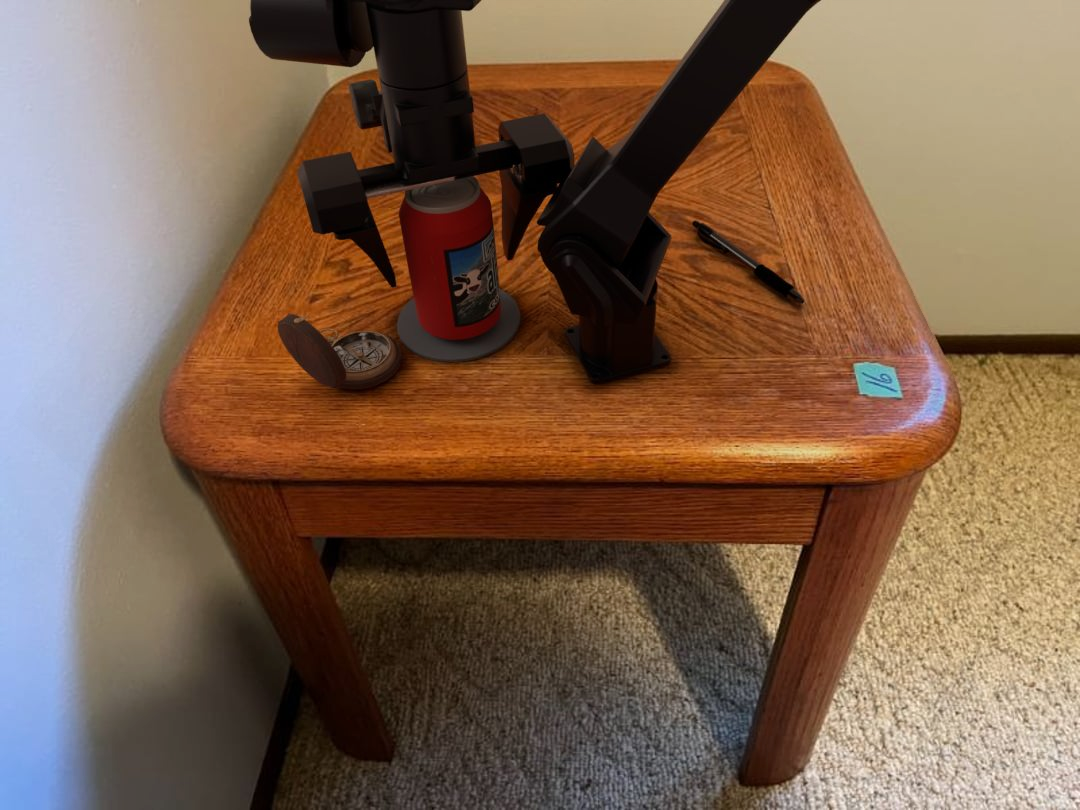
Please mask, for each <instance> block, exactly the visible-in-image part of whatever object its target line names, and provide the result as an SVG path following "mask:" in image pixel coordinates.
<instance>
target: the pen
mask: <svg viewBox="0 0 1080 810" xmlns="http://www.w3.org/2000/svg"><path fill="white" fill-rule="evenodd" d="M691 225H692V226H693V227H694V228H695V230H696V231H695V234H696V236H697V238H698V240H700V241H701V242H703V243H704V244H706V245H707V246H709V247H711V248H714V249H717V250H719V251H722V254H725V255H726V254H727V255H729V256H730V257H731V258H733V259H734V260H736V261H737V262H738V263H740V265H742V266H743V267H745V268H746V269H748V271H750V272H752V273H753V275H754V276H755V277H757V278H758V279H759V280H760V281H761V282H763V283H764V284H765V285H767V286H769V287H770V288H772V289H773V290H775V291H776V292H777V293H779V294H780V295H781V296H783V298H788V299H789V300H791V301H793V302H795V303H797V304H801V305H802V304H804V303H805V299H804V297H803V295H801V293H799V292H798V291H797V290H796V288H795V287H794V285H792V284H791V283H790V282H788V281H786V280H785V279H784V278H782V277H781V276H779V274H778V273H776V272H775V271H774V270H772V269H770V268H769V267H767V266H765V264H762V263H760V262H758V261H757V260H756V259H754V258H753V257H751V256H750V255H748V254H747V253H746V252H744V251H743V250H742V249H740V248H739V247H738V246H736V245H735V244H734V243H732V242H730V241H729V240H728V239H726V237H724V236H722V235H721V234H719V233H718V232H717V231H716V230H715V229H713V227H711V226H709V225H708V224H706V223H704V222H699V220H697V219H696V220H693V221H692V222H691Z"/></svg>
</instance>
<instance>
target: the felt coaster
mask: <svg viewBox="0 0 1080 810" xmlns="http://www.w3.org/2000/svg"><path fill="white" fill-rule="evenodd" d="M499 289H500V302H501V314H500V317H499V319H498V321H497V322H496V324H495V325H494V326H493V327H492V328H490V329H489V330H488V331H486V332H484V333H483V334H480V335H478V336H475V337H472V338H468V339H462V340H448V339H442V338H438V337H435V336H433V335H431V334H429V333H428V332H426V331H425V330H424V329H423V328H422V327H421V325H420V323H419V320H418V316H417V311H416V306H415V301H414V297H412V298H411V299H410V300H409V301H408V302H407V303H406V304H405V305H404V306H403V308H402V309H401V311H400V312H399V315H398V317H397V323H396V330H397V334H398V338H399V340H400V342H401V343H402V344H403V346H404V347H405V348H406V349H408V351H410V352H411V353H413V354H415V355H417V356H419V357H422V358H423V359H425V360H430V361H434V362H441V363H461V362H463V363H464V362H470V361H474V360H479V359H481V358H484V357H486V356H489V355H492V354H494V353H496V352H497V351H499V350H501V349H502V348H503V347H506V345H507V344H508V343H510V341H511V340H512V339H513V338H514V337H515V335H516V334H517V332H518V330H519V328H520V324H521V311H520V308H519V305H518V303H517V302H516V301H515V299H514V298H513V297H512V296H511V295H510V294H509V293H508V292H506V291H504V290H503V289H501V288H499Z"/></svg>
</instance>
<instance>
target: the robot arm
mask: <svg viewBox="0 0 1080 810" xmlns="http://www.w3.org/2000/svg"><path fill="white" fill-rule="evenodd" d="M481 1H482V0H250V4H249V8H250V16H249V17H248V24H249V27H250V31H251V35H252V37H253V40H254V42H255V44H256V46H257V47H258V49H259V50H260V52H261V53H262V54H264V56H265V57H267V58H269V59H271V60H276V61H285V62H286V61H287V62H296V63H305V64H306V63H307V64H316V65H325V66H333V67H343V68H353V67H356V66H358V65H359V64H360V63H361V62H362V60H363V59H364V58H365V56H366V53H367V52H370V51H372V50H373V51H374V52H373V53H374V58H375V62H376V68H377V73H378V79H379V84H380V85H379V86H380V90H379V87H378V85H377V82H376V80H374V79H371V78H370V79H365V80H359V81H355V82H349V83H347V85H348V90H349V95H350V100H351V104H352V110H353V113H354V114H353V115H354V119H355V123H356V125H357V126H356V127H358V128H359V129H360V130H363V131H364V130H368V129H373V128H374V129H375V128H378V127H381V130H382V135H383V140H384V145H385V148H386V150H387V152H388V154H391V153H392V157H393V162H390V163H386V164H381V165H376V166H372V167H366V168H361V169H358V166H357V165H356V162H355V160H354V159H355V158H354V157H353V154H352V152H351V151H346V152H342V153H336V154H331V155H325V156H321V157H315V158H311V159H306V160H302V161H301V163H300V165H299V166H298V169H297V170H296V175H297V177H298V178H297V179H298V181H299V184H300V189H301V192H302V195H303V200H304V204H305V207H306V210H307V214H308V218H309V222H310V225H311V229H312V232H313V233H315V234H318V235H327V234H332V233H333V237H334V238H335V239H336V240H338V241H347V240H351V241H352V242H353V243H354V244H355V245H356V246H357V247H358V248H359V249H361V251H362V252H364V253H365V254H366V256H367V257H368V258H369V259H370V260H371V261H372V263H373V264H374V266H375V267H376V268H377V269H378V271H379V272H380V274H381V275H382V276H383V278H384V280H385V281H386V282H387V284H388V285H389V286H390V288H392V289H394V288H396V287H397V279H396V274H395V271H394V268H393V266H392V263H391V260H390V258H389V255H388V252H387V250H386V247H385V244H384V241H383V239H382V236H381V234H380V231H379V228H378V225H377V223H376V220H375V218H374V214H373V212H372V210H371V206H370V203H369V201H368V200H369V199H373V198H378V197H383V196H388V195H392V194H397V193H402V192H405V191H407V190H412V189H417V188H421V187H426V186H431V185H436V184H440V183H445V182H450V181H454V180H457V179H462V178H466V177H471V176H474V177H476V176H481V175H486V174H490V173H495V172H498V174H499V180H500V185H501V243H502V251H503V255H504V257H505V259H506V261H508V262H510V261H513V260H514V257H515V256H516V253H517V251H518V250H519V247H520V244H521V242H522V240H523V238H524V236H525V234H526V231H527V229H528V227H529V225H530V223H531V222H532V220H533V218H534V217H535V215H536V213H537V212H538V210H539V209H540V207H541V205H542V204H543V203H544V200H545V199H546V198H547V197H548V196H551V197H550V198H549V200H548V202H547V204H546V205H545V207H544V209H543V211H542V212H541V213H540V215H539V217H538V219H536V224H537V226H540V227H544V228H543V229H542V231H541V233H540V235H539V238H538V240H537V248H536V249H537V251H538V253H539V254H540V258H541V260H542V262H543V264H544V266H545V267H546V269H548V271H549V272H550V273H551V274H552V275H553V276H554V279H555V280H556V281H555V282H556V283H557V285H558V288H559V289H560V292H561V294H562V297H563V299H564V301H565V303H566V306H567V308H568V310H569V312H570V314H571V315H574V316H578V325H573V326H570V327H566V328H565V329H564V331H563V333H564V338H565V340H566V342H567V343H568V345H569V347H570V348H571V351H572V352H573V354H574V356H575V357H576V359H577V361H578V363H579V365H580V366H581V368H582V370H583V372H584V374H585V375H586V377H587V378H588V380H589V382H590V383H591V384H593V385H600V384H603V383H607V382H611V381H614V380H619V379H622V378H626V377H629V376H633V375H637V374H641V373H645V372H648V371H652V370H655V369H659V368H663V367H666V366H669V365H670V364H671V363H672V356H671V354H670V352H669V351H668V350H667V348H666V347H665V345H664V344H663V343H662V341H661V340H660V338H659V337H658V336H657V334H656V319H657V304H658V303H657V302H658V289H659V288H658V287H659V286H658V285H659V284H658V280H657V277H658V274H659V271H660V270H661V269H660V268H661V266H662V264H663V261H664V260H665V256H666V254H667V251H668V249H669V246H670V245H671V244H670V243H671V241H672V234H670V232H669V231H667V229H666V228H665V227H664V226H663V225H662V224H661V223H660V222H659V221H658V220H657V219H656V218H655V217H654V216H653V214H651V213H650V211H651V208H652V206H653V204H654V203H655V201H656V199H657V197H658V195H659V194H660V192H661V191H662V190H663V189H664V187H665V186H666V185H667V183H668V182H669V181H670V180H671V179H672V177H673V176H674V175H675V173H676V172H677V171H678V170H679V169H680V168H681V166H682V165H683V164H684V163H685V161H686V160H687V159H688V158H689V156H690V155H691V154H692V153H693V152H694V150H695V149H696V148H697V147H698V146H699V144H700V143H701V142H702V141H703V140H704V139H705V138H706V136H707V135H708V133H709V132H710V131H711V130H712V128H713V127H714V126H715V125H716V124H717V122H718V121H719V120H720V119H721V117H722V116H723V115H724V114H725V112H726V111H727V110H728V109H729V108H730V106H732V104H733V103H734V102H735V100H737V98H738V97H739V95H740V94H741V93H742V92H743V91H744V89H745V88H746V87H747V86H748V84H749V83H750V82H751V81H752V79H753V78H754V77H755V76H756V75H757V73H758V72H759V71H760V70H761V68H762V67H763V66H764V65H765V64H766V63H767V61H768V60H769V59H770V58H771V57H772V55H773V54H775V51H776V50H777V49H778V48H779V47H780V46H781V44H782V43H783V42H784V40H785V39H786V38H787V37H788V36H789V34H790V33H791V32H792V31H793V30H794V28H795V27H796V26H797V25H798V23H799V22H800V21H801V20H802V18H803V17H804V16H805V15H806V14H807V13H808V12H809V11H811V9H813V7H815V6H816V5H817V4H819V3H820V2H821V1H822V0H723V1H722V2H721V4H720V6H719V7H718V8H717V9H716V11H715V12H714V14H713V15H712V17H711V18H710V19H709V21H707V23H706V25H705V26H704V28H703V29H702V30H701V32H700V33H699V34H698V36H697V37H696V38H695V40H694V41H693V43H692V44H691V45H690V47H689V48H688V50H687V51H686V52H685V54H684V55H683V57H682V58H681V59H680V60H679V62H678V64H677V65H676V66H675V68H674V69H673V70H672V72H670V74H669V75H668V77H667V79H666V80H665V81H664V83H663V84H662V85H661V87H660V88H659V90H658V91H657V92H656V94H655V95H654V96H653V98H652V99H651V100H650V102H649V103H648V104H647V106H646V107H645V108H644V110H643V111H642V113H641V114H640V115H639V117H638V118H637V120H636V121H635V122H634V124H633V125H632V127H631V128H630V130H629V131H628V132H627V134H625V136H623V137H622V138H621V139H620V140H619V141H617V142H616V143H615V144H613V145H612V146H610V147H609V148H605V146H604V145H603V144H602V143H601V142H600V141H599V140H598V139H596V138H595V137H594V136H591V137H590V139H589V141H588V142H587V144H586V145H585V147H584V149H583V150H582V153H581V154H580V156H579V157H578V159H577V161H576V159H575V151H574V149H573V145H572V143H571V141H570V140H569V139H568V138H567V136H566V135H565V133H564V132H563V131H562V130H561V128H560V127H559V126H558V125H557V124H556V122H555V121H554V120H553V119H552V118H551V117H550V116H549V115H547V114H546V113H540V114H539V113H538V114H534V115H529V116H524V117H519V118H514V119H509V120H504V121H500V123H499V125H498V127H497V130H498V141H494V142H489V143H484V144H480V145H476V137H475V128H474V127H475V126H474V118H473V114H474V113H475V111H474V110H475V108H474V107H475V106H474V99H473V98H474V97H473V96H472V95H471V89H470V80H469V70H468V59H467V51H466V41H465V31H464V21H463V12H471V11H473V9H475V7H477V5H478V4H480V2H481ZM462 11H463V12H462ZM575 161H576V162H575Z"/></svg>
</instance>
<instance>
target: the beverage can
mask: <svg viewBox="0 0 1080 810" xmlns="http://www.w3.org/2000/svg"><path fill="white" fill-rule="evenodd" d="M480 185H481V184H480V182H479V180H478V179H477V178H476V176H471V177H466V178H462V179H457V180H454V181H450V182H445V183H440V184H436V185H431V186H426V187H421V188H417V189H412V190H407V191H404V197H403V199H402V201H401V204H400V206H399V210H398V219H399V224H400V229H401V235H402V236H401V237H402V242H403V248H404V253H405V257H406V258H405V259H406V263H407V264H406V265H407V271H408V274H409V280H410V285H411V289H412V290H411V291H412V295H413V298H414V301H415V306H416V311H417V316H418V320H419V323H420V325H421V327H422V328H423V329H424V330H425V331H426V332H428V333H429V334H431V335H433V336H435V337H438V338H442V339H448V340H462V339H468V338H472V337H475V336H478V335H480V334H483V333H484V332H486V331H488V330H489V329H490V328H492V327H493V326H494V325H495V324H496V322H497V321H498V319H499V317H500V314H501V302H500V289H501V288H500V280H499V269H498V258H497V257H498V256H497V246H496V236H495V226H494V220H493V217H494V216H493V209H492V202H491V200H490V198H489V196H488V195H487V194H486V192H485V191H484V190H483V188H482V187H481V186H480Z"/></svg>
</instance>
